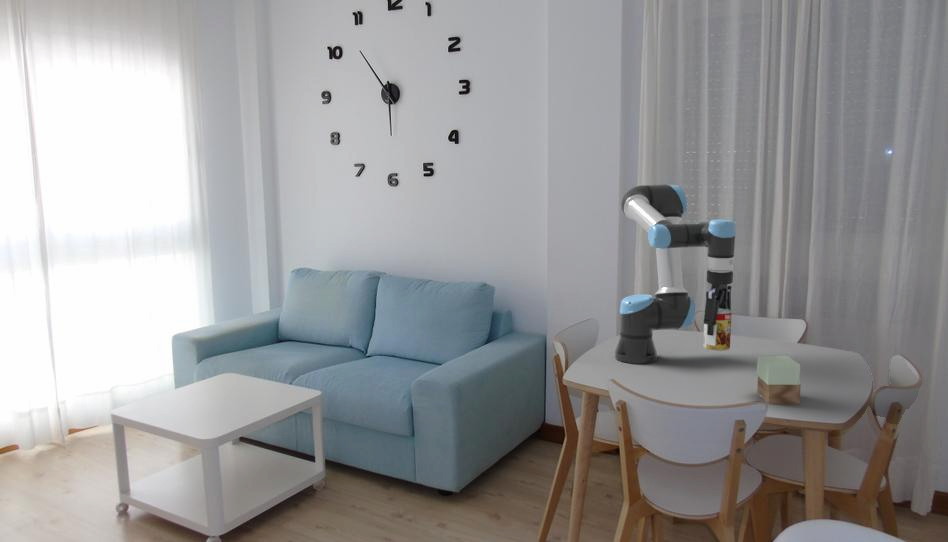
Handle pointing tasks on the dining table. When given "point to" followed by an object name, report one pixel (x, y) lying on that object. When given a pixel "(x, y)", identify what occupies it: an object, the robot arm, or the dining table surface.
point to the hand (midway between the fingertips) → (716, 341)
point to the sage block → (778, 370)
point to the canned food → (720, 331)
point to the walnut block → (779, 393)
